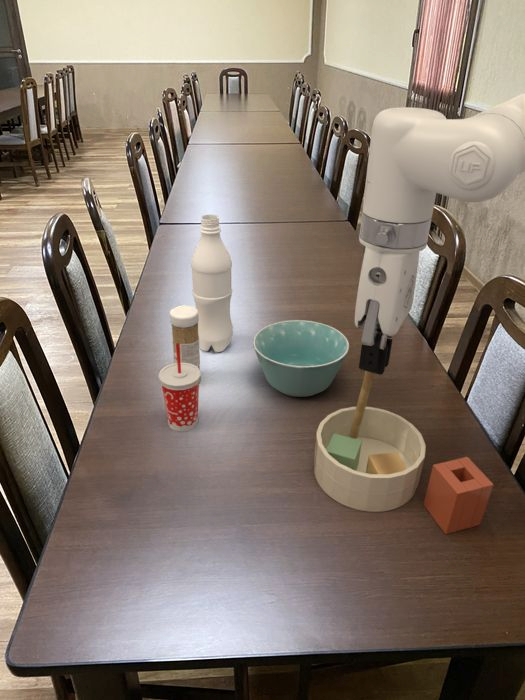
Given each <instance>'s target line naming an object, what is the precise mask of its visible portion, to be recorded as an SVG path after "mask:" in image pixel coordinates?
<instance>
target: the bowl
mask: <svg viewBox="0 0 525 700" xmlns="http://www.w3.org/2000/svg"><path fill="white" fill-rule="evenodd" d="M252 346H253V349H254V352H255V354H256V357H257V359H258V362H259V364H260V366H261V369H262V372H263V374H264V376H265V379H266V381H267V382H268V384H269V385H270V386H271V387H272V388H274V389H275V390H276V391H279V392H280V393H281V394H284V395H285V396H289V397H295V398H304V397H305V398H306V397H307V398H308V397H311V396H314V395H317V394H320V393H322V392H323V391H325V390H326V389H328V388H329V387H330V386H331V384H332V382H333V381H334V379H335V377H336V375H337V374H338V372H339V370H340V368H341V367H342V364H343V363H344V361H345V359H346V357H347V355H348V353H349V349H350V343H349V340H348V338H347V337H346V336H345V335H344V333H342V332H341V331H340V330H338V329H337V328H336V327H332V326H331V325H328V324H325V323H321V322H317V321H312V320H304V319H303V320H302V319H295V320H294V319H291V320H282V321H277V322H274V323H271V324H269V325H266V326H264V327H262V328H261V329H260V330H258V332H256V334H255V335H254V337H253V340H252Z"/></svg>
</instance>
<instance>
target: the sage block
mask: <svg viewBox="0 0 525 700" xmlns="http://www.w3.org/2000/svg"><path fill="white" fill-rule="evenodd" d="M361 444H362V441H361V440H357V439H353V438H350V437H346V436H342V435H339V434H335V433H333V436H332V438H331V440H330V442H329V444H328V447H327V449H326V450H327V452H328V454H329V455H330V456H332V457H333V458H334V459H335V460H336V461H338V462H339V463H340V464H342V465H344V466H346V467H349V468H351V469H353V470H355V471H356V469H357V466H358V463H359V457H360V451H361Z"/></svg>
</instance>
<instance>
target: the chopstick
mask: <svg viewBox="0 0 525 700" xmlns="http://www.w3.org/2000/svg"><path fill="white" fill-rule="evenodd" d="M376 333H378V334H380V335H381V332H377V331H376ZM375 375H376V374H375V373H372V372H368V371H365V370H364V375H363V379H362V384H361V387H360V392H359V395H358V399H357V403H356V406H355V407H356V410H355V414H354V418H353V422H352V426H351V430H350V434H349V436H350V438H353V439H356V438H357V437H358V434H359V430H360V426H361V422H362V419H363V415H364V411H365V408H366V407H367V405H368V404H367V403H368V400H369V395H370V392H371V388H372V385H373V381H374V377H375Z"/></svg>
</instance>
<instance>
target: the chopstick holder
mask: <svg viewBox="0 0 525 700" xmlns="http://www.w3.org/2000/svg"><path fill="white" fill-rule="evenodd" d="M493 487H494V484H493V482H492V481H491V480H490V479H489V478H488V477H487V475H485V474H484V472H483V471H482V470H481V469H480V468H479V467H478V466H477V465H476V464H475V463H474V462H473V461H472V460H471V459H470V458H469V457H468V456H465V457H461V458H456V459H452V460H448V461H444V462H443V461H442V462H438V463H435V464H433V465H432V468H431V472H430V476H429V481H428V484H427V488H426V493H425V496H424V501H423V506H424V508H425V509H426V511H427V512H428V513H429V514H430V516H431V517H432V518H433V520H434V521H435V522H436V524H437V525H438V526H439V528H440V529H441V530H442V532H443V533H444V535H450V534H453V533H456V532H459V531H463V530H466V529H470V528H474V527H477V526H478V527H479V526H480V525H481V523H482V521H483V518H484V514H485V511H486V508H487V506H488V502H489V499H490V496H491V493H492V491H493Z"/></svg>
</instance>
